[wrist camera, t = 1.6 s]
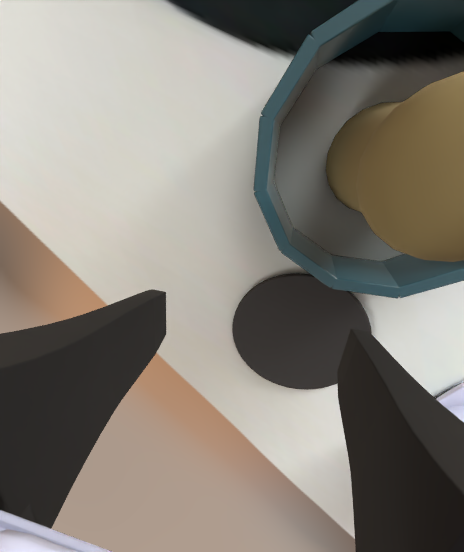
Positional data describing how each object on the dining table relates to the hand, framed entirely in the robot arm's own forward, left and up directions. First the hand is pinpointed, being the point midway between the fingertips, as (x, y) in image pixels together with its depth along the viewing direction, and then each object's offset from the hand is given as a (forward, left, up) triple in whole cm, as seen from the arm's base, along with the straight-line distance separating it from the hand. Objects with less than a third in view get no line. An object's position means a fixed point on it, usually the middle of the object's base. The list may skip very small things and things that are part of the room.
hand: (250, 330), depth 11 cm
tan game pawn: (-2, -8, -10) cm, 13 cm away
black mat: (-6, +4, -10) cm, 13 cm away
